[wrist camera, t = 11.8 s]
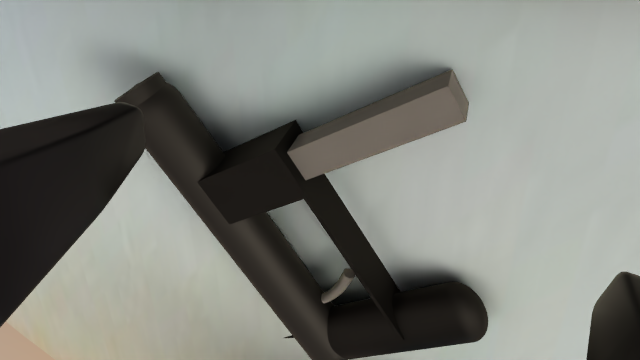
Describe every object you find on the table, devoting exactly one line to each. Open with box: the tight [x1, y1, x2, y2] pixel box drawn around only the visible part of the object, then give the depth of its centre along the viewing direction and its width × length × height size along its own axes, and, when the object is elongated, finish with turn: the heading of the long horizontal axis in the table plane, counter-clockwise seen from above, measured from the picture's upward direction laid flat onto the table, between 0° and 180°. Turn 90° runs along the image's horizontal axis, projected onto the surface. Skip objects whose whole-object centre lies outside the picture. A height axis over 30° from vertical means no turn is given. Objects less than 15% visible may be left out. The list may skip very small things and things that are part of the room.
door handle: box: [115, 69, 488, 360], centre depth 26 cm, size 3×20×16 cm
